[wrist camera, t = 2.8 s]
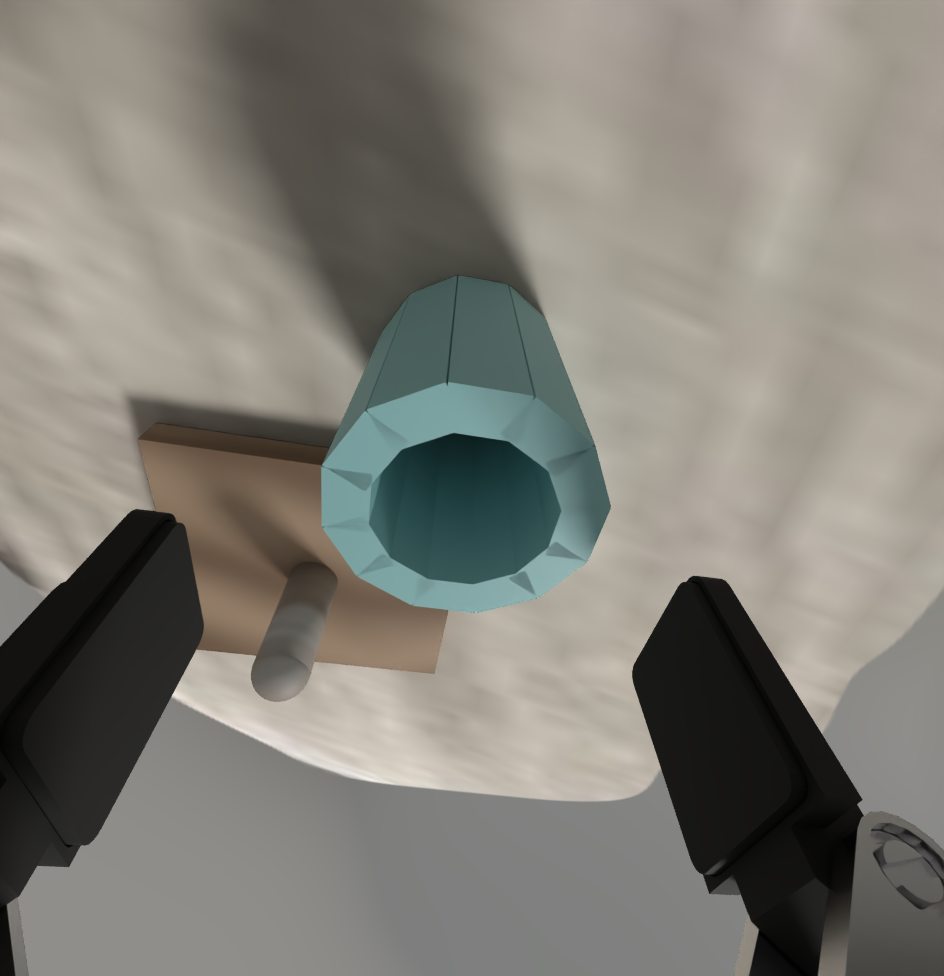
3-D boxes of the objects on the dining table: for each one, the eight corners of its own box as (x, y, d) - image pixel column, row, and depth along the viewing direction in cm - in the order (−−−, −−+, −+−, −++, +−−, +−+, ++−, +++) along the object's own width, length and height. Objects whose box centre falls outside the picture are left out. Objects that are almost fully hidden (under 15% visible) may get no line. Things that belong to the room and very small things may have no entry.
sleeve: (386, 261, 15) (320, 361, 9) (576, 297, 16) (651, 415, 9) (374, 432, 18) (322, 595, 12) (530, 455, 19) (561, 623, 13)
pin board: (155, 422, 18) (21, 546, 13) (475, 469, 19) (476, 600, 14) (201, 628, 25) (127, 765, 20) (435, 653, 26) (426, 789, 21)
